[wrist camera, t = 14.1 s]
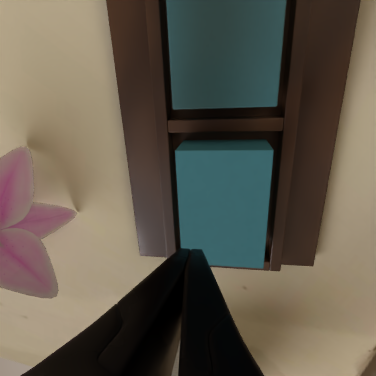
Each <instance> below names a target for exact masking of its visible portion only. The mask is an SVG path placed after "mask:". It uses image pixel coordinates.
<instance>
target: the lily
mask: <svg viewBox="0 0 376 376" xmlns="http://www.w3.org/2000/svg"><path fill="white" fill-rule="evenodd" d="M33 196H34V177H33V164H32V157H31V154H30V150H29V149H28V148H27V147H26V146H25V147H18V148H16V149H14V150H12V151H10V152H9V153H7V154H6V155H4V156H2V157H1V158H0V287H1V288H5V289H8V290H11V291H15V292H18V293H22V294H26V295H30V296H35V297H40V298H53V297H56V296H57V293H58V284H57V280H56V276H55V273H54V269H53V267H52V264H51V261H50V258H49V256H48V253H47V251H46V248H45V246H44V245H43V243H42V242H41V240H40V239H42V238H44V237H46V236H48V235H50V234H52V233H53V232H55V231H56V230H58V229H59V228H61V227H62V226H64V225H65V224H67V223H68V222H69V221H71V220H72V219H73V218H74V217H75V216H76V214H77V213H76V212H75V211H74V210H71V209H69V208H65V207H60V206H56V205H50V204H44V203H33Z"/></svg>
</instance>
